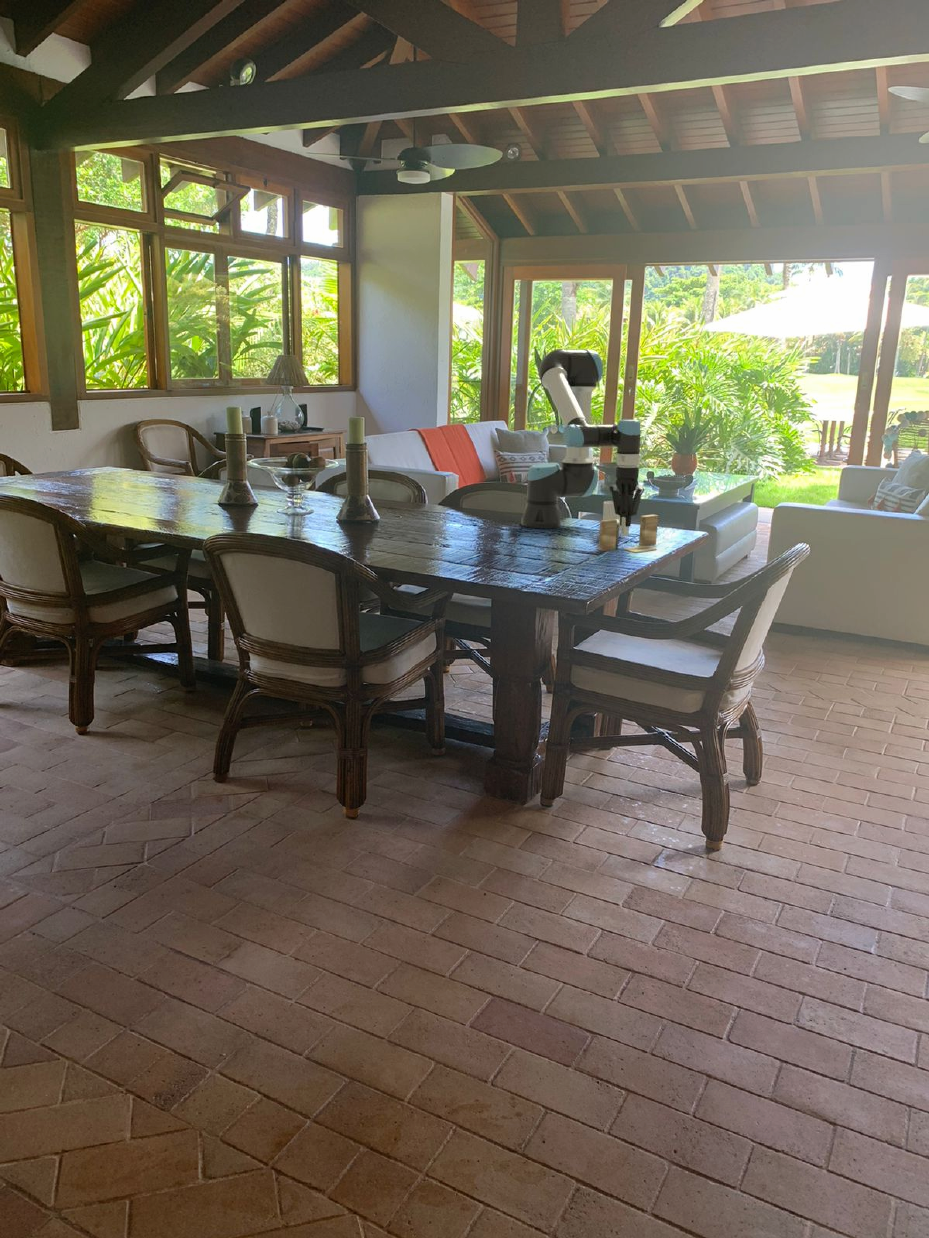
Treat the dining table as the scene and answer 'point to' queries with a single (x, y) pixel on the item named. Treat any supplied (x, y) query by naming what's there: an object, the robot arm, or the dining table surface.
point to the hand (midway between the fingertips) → (624, 535)
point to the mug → (610, 512)
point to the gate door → (617, 533)
